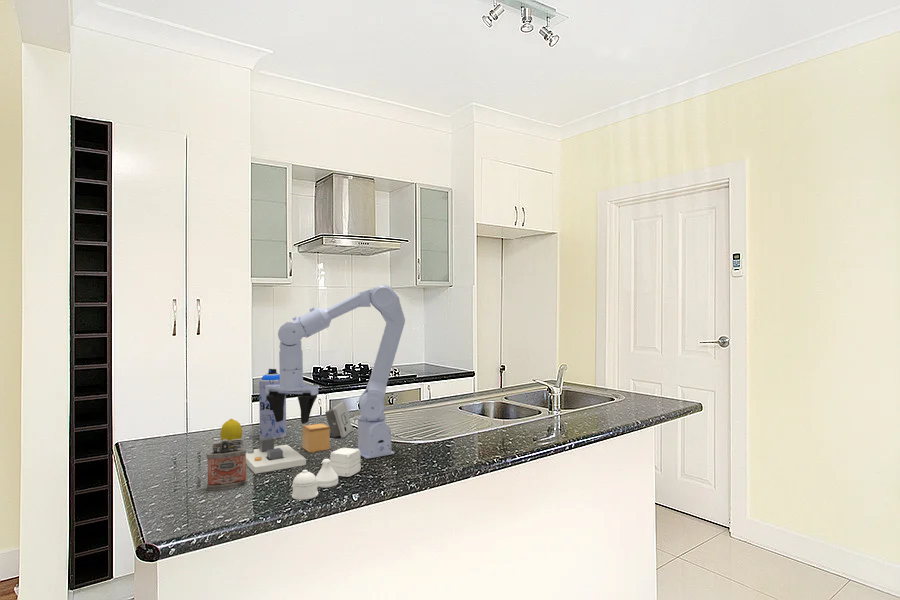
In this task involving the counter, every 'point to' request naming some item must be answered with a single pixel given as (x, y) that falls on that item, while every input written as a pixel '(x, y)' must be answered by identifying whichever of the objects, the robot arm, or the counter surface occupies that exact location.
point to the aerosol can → (270, 409)
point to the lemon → (231, 430)
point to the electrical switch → (339, 420)
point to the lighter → (226, 465)
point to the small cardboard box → (316, 437)
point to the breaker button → (274, 454)
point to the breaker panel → (261, 464)
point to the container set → (327, 473)
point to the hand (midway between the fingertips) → (292, 421)
